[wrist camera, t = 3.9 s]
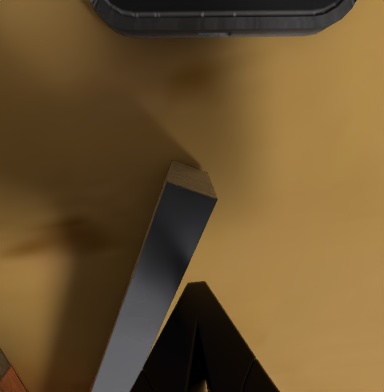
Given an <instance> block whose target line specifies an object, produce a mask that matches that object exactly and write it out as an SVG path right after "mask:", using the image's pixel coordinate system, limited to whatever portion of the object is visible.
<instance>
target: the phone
mask: <svg viewBox="0 0 384 392" xmlns="http://www.w3.org/2000/svg"><path fill="white" fill-rule="evenodd" d="M89 1H90V2H91V4H92V6H93V8H94V10H95V11H96V12H97V13H98V14H99V15H100V17H101V18H102V19H103V20H104V21H105V22H106V23H107V24H108V25H109V26H110V27H111V28H112V29H113V30H114V31H116V32H118V33H120V34H121V35H123V36H126V37H132V38H192V37H279V36H308V35H313V34H317V33H318V32H320V31H322V30H324V29H325V28H327V27H329V26H331V25H332V24H334V23H336V22H337V21H339V20H341V19H342V18H343V17H344V16H345V15H346V14H347V13H348V12H349V11H350V10H351V9H352V7H353V6H354V4H355V2H356V1H357V0H89ZM152 35H155V36H152Z"/></svg>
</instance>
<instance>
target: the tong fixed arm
mask: <svg viewBox="0 0 384 392" xmlns="http://www.w3.org/2000/svg"><path fill="white" fill-rule="evenodd" d="M0 392H26V390H25V388H24V387H23V385H22V383H21V382H20V380H19V378H18V377H17V375H16V373H15V371H14V370H13V368H12V366H10V365H9V363H8V361H7V360H6V358H5V356H4V355H3V353H2V351H1V350H0Z"/></svg>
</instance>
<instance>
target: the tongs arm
mask: <svg viewBox="0 0 384 392" xmlns="http://www.w3.org/2000/svg"><path fill="white" fill-rule="evenodd" d="M216 202H217V197H216V194H215V191H214V189H213V186H212V183H211V181H210V178H209V175H208V173H207V172H204V171H201V170H199V169H196V168H193V167H190V166H188V165H185V164H182V163H180V162H177V161H174V160H172V162H171V165H170V168H169V170H168V173H167V176H166V179H165V182H164V185H163V187H162V190H161V193H160V196H159V199H158V201H157V204H156V207H155V210H154V213H153V216H152V218H151V221H150V224H149V227H148V230H147V232H146V235H145V238H144V241H143V244H142V247H141V249H140V252H139V255H138V258H137V261H136V263H135V266H134V269H133V272H132V275H131V278H130V280H129V283H128V286H127V289H126V292H125V294H124V297H123V300H122V303H121V306H120V309H119V311H118V314H117V317H116V320H115V323H114V325H113V328H112V331H111V334H110V337H109V340H108V342H107V345H106V348H105V351H104V354H103V356H102V359H101V362H100V365H99V368H98V371H97V373H96V376H95V377H94V379H93V382H92V385H91V387H90V390H89V392H130V390H131V388H132V386H133V384H134V383H135V381H136V379H137V377H138V375H139V373H140V371H141V370H142V368H143V366H144V363H145V361H146V359H147V357H148V354H149V352H150V350H151V348H152V345H153V343H154V341H155V339H156V336H157V334H158V332H159V330H160V327H161V325H162V323H163V321H164V318H165V316H166V314H167V312H168V309H169V307H170V305H171V303H172V300H173V298H174V296H175V294H176V291H177V289H178V287H179V285H180V282H181V280H182V278H183V276H184V273H185V271H186V269H187V267H188V265H189V262H190V260H191V258H192V256H193V253H194V251H195V249H196V247H197V244H198V242H199V240H200V238H201V235H202V233H203V231H204V229H205V226H206V224H207V222H208V220H209V217H210V215H211V213H212V211H213V208H214V206H215V204H216Z"/></svg>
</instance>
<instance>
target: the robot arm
mask: <svg viewBox="0 0 384 392" xmlns="http://www.w3.org/2000/svg"><path fill="white" fill-rule="evenodd" d="M142 369H143V370H141V371H140V373H139V375H138V377H137V379H136V381H135V383H134V384H133V386H132V388H131V390H130V392H205V386H206V384H207V390H208V392H280V391H279V390H278V388H277V387H276V386H275V384H274V383H273V381H272V380H271V379H270V377H269V376H268V374H267V373H266V371H265V370H264V369H263V367H262V366H261V364H260V363H259V361H258V360H257V359H256V357H255V355H254V354H253V352H252V351H251V349H250V348H249V346H248V345H247V343H246V342H245V340H244V339H243V337H242V336H241V334H240V333H239V331H238V330H237V328H236V327H235V325H234V324H233V322H232V321H231V319H230V318H229V316H228V315H227V313H226V312H225V310H224V309H223V307H222V306H221V304H220V303H219V301H218V300H217V298H216V297H215V295H214V294H213V292H212V291H211V289H210V288H209V286H208V285H207V283H206V282H205V281H200V282H191V283H188V284H187V285H186V287H185V289H184V291H183V293H182V295H181V297H180V298H179V300H178V302H177V304H176V306H175V308H174V310H173V312H172V313H171V315H170V317H169V319H168V321H167V323H166V325H165V327H164V328H163V330H162V332H161V334H160V336H159V338H158V340H157V342H156V343H155V345H154V347H153V349H152V351H151V353H150V355H149V357H148V358H147V360H146V362H145V364H144V366H143V368H142Z"/></svg>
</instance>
